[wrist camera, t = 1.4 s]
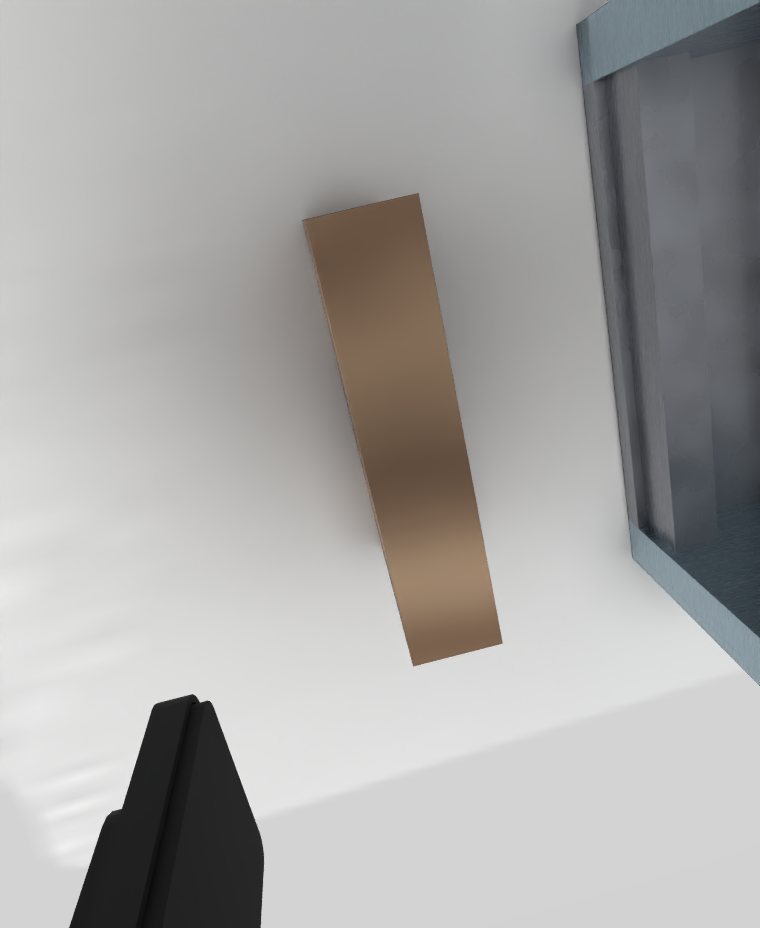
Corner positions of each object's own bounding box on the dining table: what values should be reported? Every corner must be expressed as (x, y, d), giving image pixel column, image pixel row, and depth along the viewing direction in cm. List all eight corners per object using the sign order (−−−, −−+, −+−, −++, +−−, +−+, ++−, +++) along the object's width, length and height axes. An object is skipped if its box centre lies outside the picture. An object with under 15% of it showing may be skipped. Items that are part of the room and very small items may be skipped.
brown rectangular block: (302, 220, 27) (305, 219, 18) (379, 202, 27) (418, 193, 18) (381, 546, 31) (413, 666, 23) (447, 530, 31) (502, 643, 23)
